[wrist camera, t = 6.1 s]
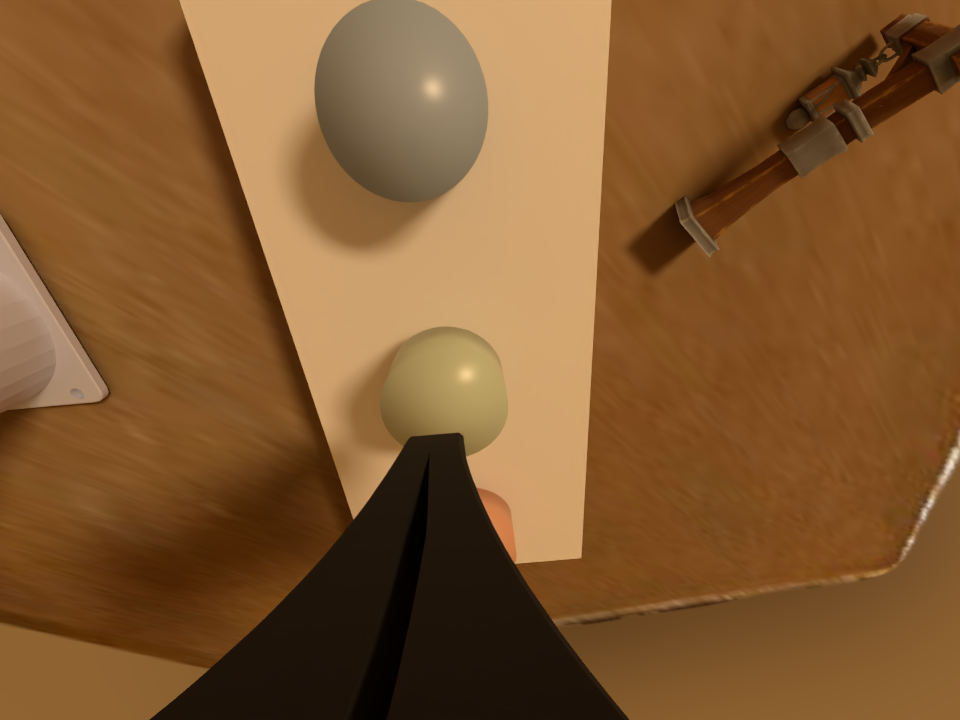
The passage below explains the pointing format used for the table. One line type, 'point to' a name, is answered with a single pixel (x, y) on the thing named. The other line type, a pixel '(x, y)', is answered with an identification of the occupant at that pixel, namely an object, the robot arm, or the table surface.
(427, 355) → the sage button
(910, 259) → the table surface
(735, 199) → the wooden post with brackets
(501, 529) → the orange rounded dome
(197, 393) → the table surface
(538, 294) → the button panel
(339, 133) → the slate button
